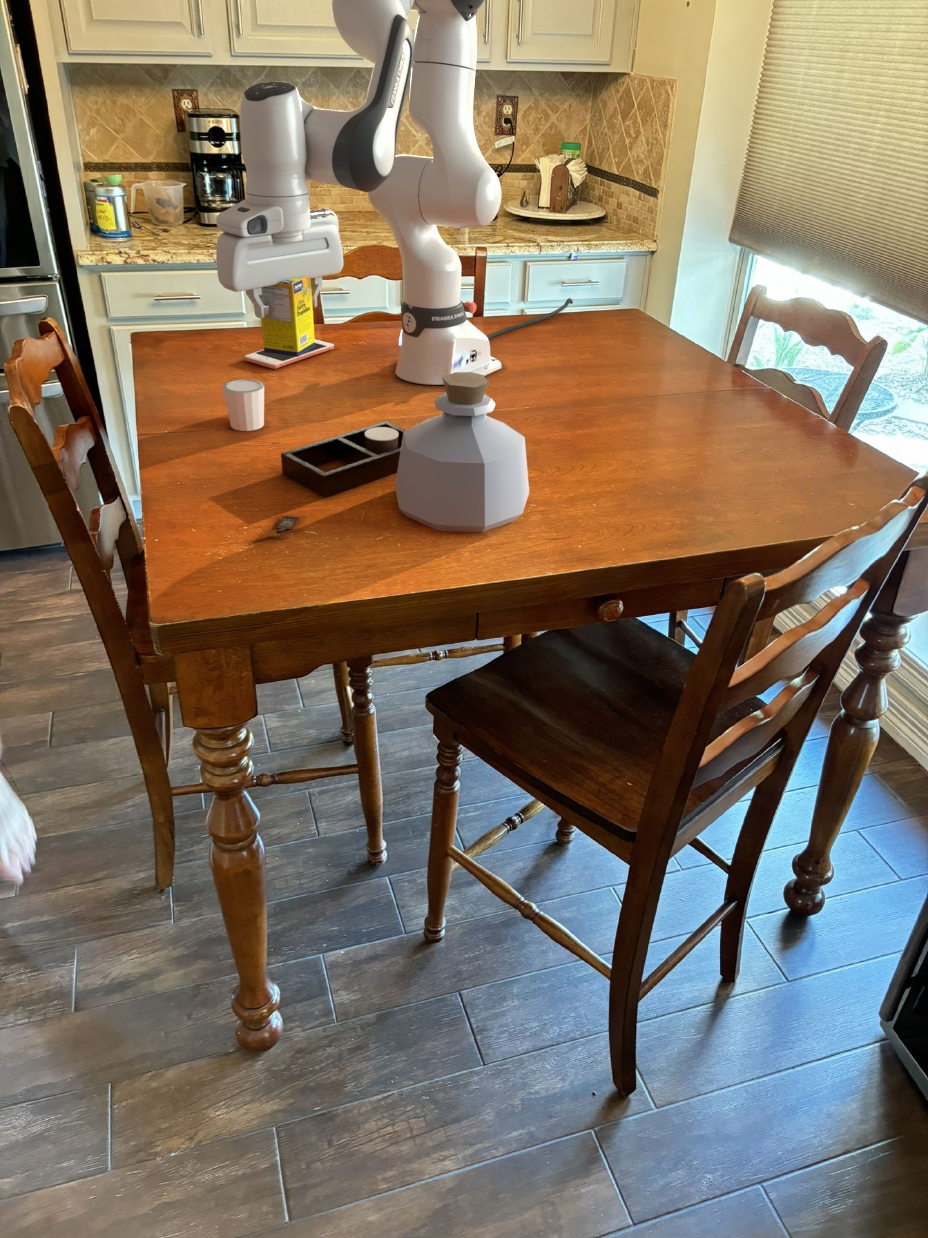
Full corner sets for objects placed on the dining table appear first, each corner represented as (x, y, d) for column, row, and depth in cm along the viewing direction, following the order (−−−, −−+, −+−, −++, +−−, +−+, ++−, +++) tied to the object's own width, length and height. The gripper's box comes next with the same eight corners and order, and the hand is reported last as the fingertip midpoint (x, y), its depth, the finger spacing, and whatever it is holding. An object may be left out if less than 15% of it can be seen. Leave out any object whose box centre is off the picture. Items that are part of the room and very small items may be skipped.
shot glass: (258, 434, 154) (254, 394, 150) (220, 429, 155) (215, 389, 151) (273, 419, 159) (270, 380, 156) (236, 415, 160) (232, 376, 157)
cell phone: (243, 360, 185) (243, 355, 185) (304, 340, 198) (304, 335, 197) (275, 369, 181) (274, 364, 181) (335, 348, 194) (335, 344, 193)
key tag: (285, 515, 129) (285, 511, 129) (304, 519, 128) (304, 515, 128) (254, 540, 123) (254, 536, 122) (274, 545, 122) (273, 541, 122)
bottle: (470, 465, 146) (475, 347, 136) (554, 510, 134) (567, 385, 123) (366, 496, 135) (363, 371, 125) (447, 549, 123) (450, 415, 112)
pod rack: (386, 440, 153) (385, 420, 152) (430, 460, 147) (430, 440, 145) (282, 474, 141) (280, 452, 139) (325, 497, 135) (324, 476, 133)
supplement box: (315, 346, 143) (311, 274, 137) (298, 357, 138) (292, 283, 132) (282, 341, 144) (276, 270, 138) (263, 352, 140) (256, 278, 134)
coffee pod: (384, 449, 150) (383, 424, 148) (405, 459, 147) (405, 434, 145) (358, 458, 147) (357, 432, 144) (379, 468, 144) (379, 442, 141)
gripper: (324, 203, 138) (329, 296, 146) (205, 217, 126) (217, 318, 134) (350, 209, 135) (353, 305, 142) (230, 225, 122) (241, 328, 130)
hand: (286, 312), depth 138 cm, fingers closed on supplement box, 7 cm apart
